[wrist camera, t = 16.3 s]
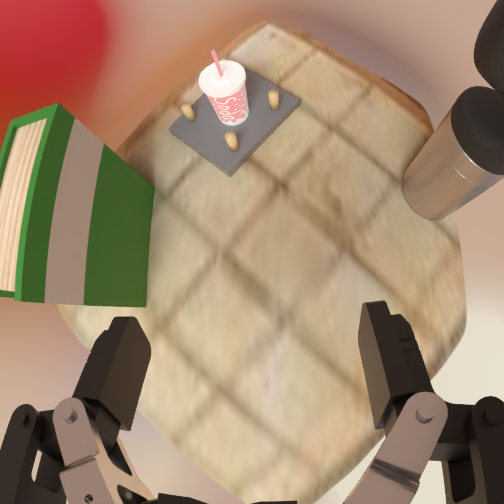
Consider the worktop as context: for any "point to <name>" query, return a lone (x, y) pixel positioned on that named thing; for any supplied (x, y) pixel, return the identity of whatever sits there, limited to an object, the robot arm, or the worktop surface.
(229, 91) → the beverage cup
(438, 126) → the robot arm
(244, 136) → the chassis
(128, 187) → the hardback book
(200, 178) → the worktop surface
